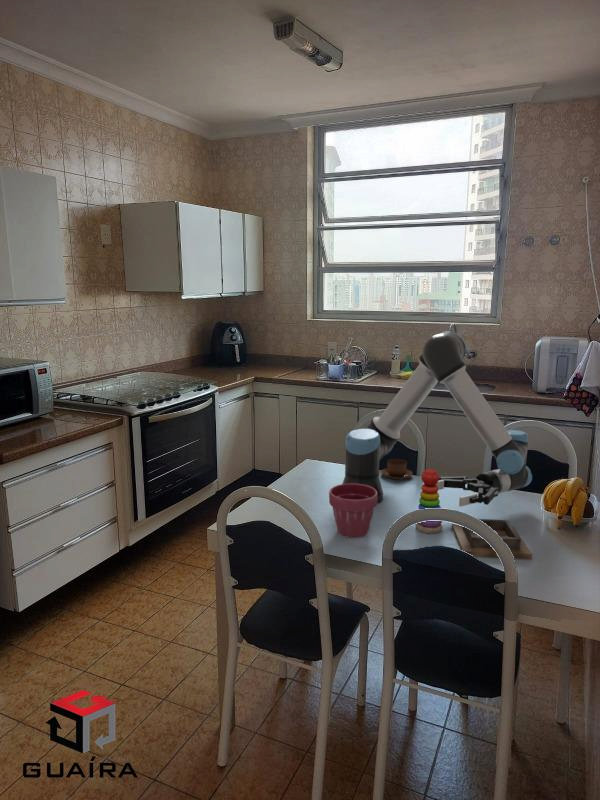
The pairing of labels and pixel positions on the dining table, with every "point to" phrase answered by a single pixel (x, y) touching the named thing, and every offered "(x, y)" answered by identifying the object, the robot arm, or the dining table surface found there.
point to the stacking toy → (429, 501)
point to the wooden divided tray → (482, 548)
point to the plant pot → (353, 508)
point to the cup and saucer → (397, 469)
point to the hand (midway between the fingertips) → (443, 494)
